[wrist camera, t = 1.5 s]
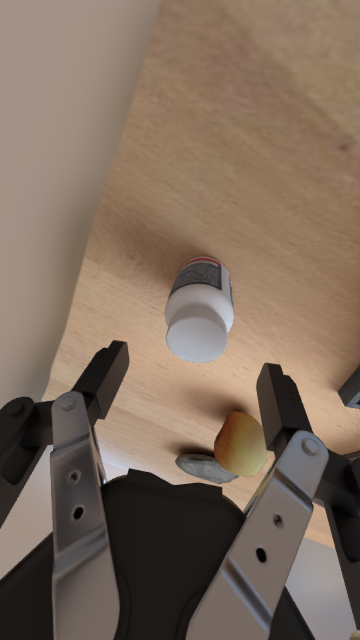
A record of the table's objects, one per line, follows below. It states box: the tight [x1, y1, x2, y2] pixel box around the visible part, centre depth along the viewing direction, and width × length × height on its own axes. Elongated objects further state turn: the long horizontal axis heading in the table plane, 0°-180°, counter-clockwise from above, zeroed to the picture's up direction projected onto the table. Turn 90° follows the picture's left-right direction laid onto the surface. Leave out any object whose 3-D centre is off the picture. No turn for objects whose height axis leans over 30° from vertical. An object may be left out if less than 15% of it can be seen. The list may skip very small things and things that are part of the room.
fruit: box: [214, 411, 269, 477], centre depth 30 cm, size 8×8×8 cm
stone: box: [175, 454, 239, 484], centre depth 43 cm, size 13×9×3 cm
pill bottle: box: [165, 257, 234, 363], centre depth 17 cm, size 5×5×9 cm
